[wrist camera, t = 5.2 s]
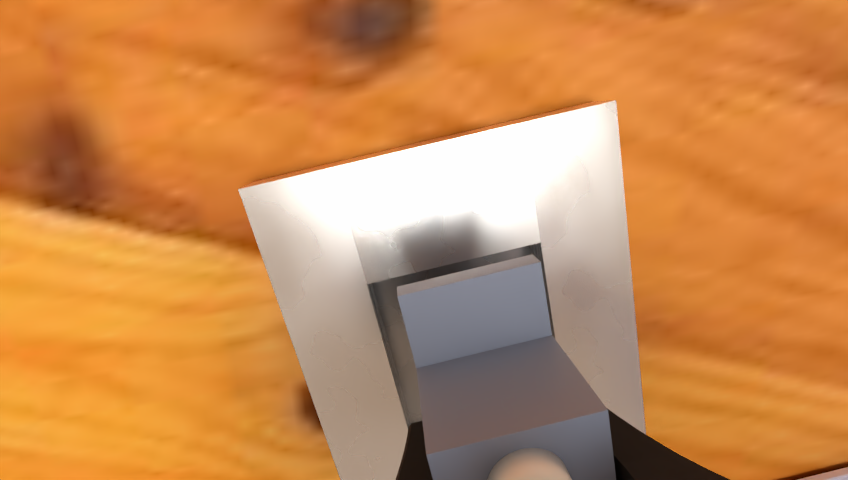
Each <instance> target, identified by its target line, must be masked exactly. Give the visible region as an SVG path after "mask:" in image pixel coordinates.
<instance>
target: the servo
mask: <svg viewBox="0 0 848 480" xmlns="http://www.w3.org/2000/svg"><path fill="white" fill-rule="evenodd" d="M397 297H398V301H399V305H400V308H401V312H402V316H403V320H404V324H405V327H406V331H407V335H408V339H409V343H410V346H411V350H412V354H413V358H414V362H415V365H416V371H417V379H418V388H419V396H420V405H421V414H422V422H423V431H424V440H425V448H426V456H427V459H428V463H429V467H430V470H431V474H432V478H433V480H616V472H615V464H614V456H613V447H612V439H611V431H610V422H609V414H608V409H607V408H606V407H605V405H604V404H603V403H602V401H601V400H600V399H599V397H598V396H597V395H596V393H595V392H594V391H593V389H592V388H591V387H590V385H589V384H588V383H587V381H586V380H585V378H584V377H583V376H582V374H581V373H580V372H579V370H578V369H577V368H576V366H575V365H574V364H573V362H572V361H571V360H570V358H569V357H568V356H567V354H566V353H565V352H564V350H563V349H562V348H561V346H560V345H559V344H558V342H557V341H556V340H555V338H554V337H553V336H552V331H551V325H550V319H549V312H548V306H547V299H546V293H545V286H544V280H543V273H542V267H541V262H540V261H539V260H538V259H537V258H536V257H535V256H534V255H533V254H531V255H527V256H523V257H519V258H514V259H510V260H506V261H502V262H498V263H494V264H489V265H485V266H481V267H477V268H473V269H469V270H465V271H460V272H456V273H452V274H448V275H444V276H440V277H435V278H431V279H427V280H423V281H419V282H415V283H411V284H406V285H402V286H398V287H397Z"/></svg>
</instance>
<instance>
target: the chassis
mask: <svg viewBox="0 0 848 480" xmlns="http://www.w3.org/2000/svg"><path fill="white" fill-rule="evenodd" d="M238 190H239V193H240V196H241V199H242V201H243V204H244V207H245V210H246V213H247V216H248V218H249V221H250V224H251V227H252V230H253V233H254V235H255V238H256V241H257V244H258V247H259V250H260V252H261V255H262V258H263V261H264V264H265V267H266V269H267V272H268V275H269V278H270V281H271V284H272V287H273V289H274V292H275V295H276V298H277V301H278V304H279V306H280V309H281V312H282V315H283V318H284V321H285V323H286V326H287V329H288V332H289V335H290V338H291V340H292V343H293V346H294V349H295V352H296V355H297V357H298V360H299V363H300V366H301V369H302V372H303V374H304V377H305V380H306V383H307V386H308V389H309V391H310V394H311V397H312V400H313V403H314V406H315V408H316V411H317V414H318V417H319V420H320V423H321V425H322V428H323V431H324V434H325V437H326V440H327V442H328V445H329V448H330V451H331V454H332V457H333V460H334V462H335V465H336V468H337V471H338V474H339V477H340V479H341V480H396V477H397V473H398V470H399V467H400V464H401V460H402V456H403V452H404V448H405V444H406V439H407V434H408V427H409V426H410V425H411V423H415V422H419V421H422V414H421V405H420V396H419V388H418V379H417V371H416V365H415V362H414V358H413V354H412V350H411V346H410V343H409V339H408V335H407V331H406V327H405V324H404V320H403V316H402V312H401V308H400V305H399V301H398V297H397V287H398V286H402V285H406V284H411V283H415V282H419V281H423V280H427V279H431V278H435V277H440V276H444V275H448V274H452V273H456V272H460V271H465V270H469V269H473V268H477V267H481V266H485V265H489V264H494V263H498V262H502V261H506V260H510V259H514V258H519V257H523V256H527V255H531V254H533V255H534V256H535V257H536V258H537V259H538V260H539V261H540V262H541V267H542V273H543V280H544V286H545V293H546V299H547V306H548V312H549V319H550V325H551V331H552V336H553V337H554V338H555V340H556V341H557V342H558V344H559V345H560V346H561V348H562V349H563V350H564V352H565V353H566V354H567V356H568V357H569V358H570V360H571V361H572V362H573V364H574V365H575V366H576V368H577V369H578V370H579V372H580V373H581V374H582V376H583V377H584V378H585V380H586V381H587V383H588V384H589V385H590V387H591V388H592V389H593V391H594V392H595V393H596V395H597V396H598V397H599V399H600V400H601V401H602V403H603V404H604V405H605V407H606V408H608V409H609V410H610V411H612V412H613V413H615V414H616V415H617V416H619V417H620V418H622V419H623V420H625V421H626V422H628V423H629V424H631V425H632V426H633V427H635V428H636V429H638V430H639V431H641V432H643V433H644V434H646V429H645V418H644V407H643V396H642V385H641V374H640V362H639V351H638V340H637V329H636V318H635V307H634V295H633V284H632V273H631V262H630V251H629V240H628V228H627V217H626V206H625V195H624V184H623V173H622V161H621V150H620V139H619V128H618V117H617V106H616V100H614V101H596V102H589V103H585V104H581V105H577V106H572V107H568V108H564V109H560V110H555V111H551V112H547V113H543V114H538V115H534V116H530V117H526V118H521V119H517V120H513V121H509V122H504V123H500V124H496V125H492V126H487V127H483V128H479V129H475V130H470V131H466V132H462V133H458V134H453V135H449V136H445V137H441V138H436V139H432V140H428V141H424V142H419V143H415V144H411V145H407V146H402V147H398V148H394V149H390V150H385V151H381V152H377V153H373V154H368V155H364V156H360V157H356V158H351V159H347V160H343V161H339V162H334V163H330V164H326V165H322V166H317V167H313V168H309V169H305V170H300V171H296V172H292V173H288V174H283V175H279V176H275V177H271V178H266V179H262V180H258V181H254V182H252V183H250V184H248V185H246V186H244V187H242V188H240V189H238Z"/></svg>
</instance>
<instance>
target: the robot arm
mask: <svg viewBox="0 0 848 480" xmlns="http://www.w3.org/2000/svg"><path fill="white" fill-rule="evenodd" d="M607 409H608V408H607ZM608 414H609V422H610V431H611V439H612V447H613V456H614V464H615V472H616V480H729V479H727V478H725V477H723V476H721V475H718V474H716V473H714V472H712V471H710V470H708V469H706V468H704V467H702V466H700V465H698V464H696V463H694V462H692V461H690V460H689V459H687V458H685V457H683V456H681V455H679V454H677V453H675V452H674V451H672V450H670V449H668V448H667V447H665V446H663V445H662V444H660V443H659V442H657V441H655V440H654V439H652V438H650V437H649V436H647V435H646V434H644V433H643V432H641V431H639V430H638V429H636V428H635V427H633V426H632V425H631V424H629V423H628V422H626V421H625V420H623V419H622V418H620V417H619V416H617V415H616V414H615V413H613V412H612V411H610V410H609V409H608ZM396 480H433V478H432V474H431V470H430V467H429V463H428V459H427V456H426V448H425V440H424V431H423V422H422V421H419V422H415V423H411V425H410V426H409V427H408V434H407V439H406V444H405V448H404V452H403V456H402V460H401V464H400V467H399V470H398V473H397V477H396ZM797 480H848V467H845V468H841V469H837V470H833V471H829V472H825V473H821V474H817V475H813V476H809V477H805V478H801V479H797Z"/></svg>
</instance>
